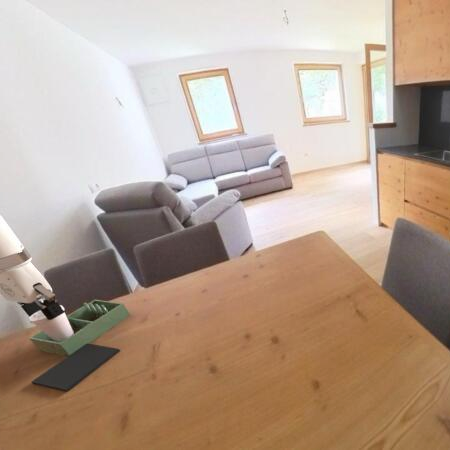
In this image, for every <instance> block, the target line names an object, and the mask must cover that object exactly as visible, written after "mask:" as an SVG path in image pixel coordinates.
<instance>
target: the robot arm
mask: <svg viewBox="0 0 450 450" xmlns="http://www.w3.org/2000/svg"><path fill="white" fill-rule="evenodd" d="M32 260H33V257H32V256H31V255H30V253H29V252H28V251H27V249H26V248H25V246H24V245H23V243H22V242H21V241H20V239H19V238H18V236H17V235H16V234H15V233H14V231H13V230H12V228H11V227H10V225H9V224H8V222H6V220H5V218H4V217H3V216H2V215H1V214H0V294H1V296H2V297H3V298H4V299H5V300H7V301H10V302H16V303H17V304H18V305H19V306H20V307H21V308H22V310H23V311H24V312H25V314H26V315H27V316H28V317H30V316H31V315H33V314H34V313H36V312H38V311H40V310H41V311H42V313H43V314H44V315H45V317H46V318H47V319H48V320H52V319H54V318H56V317H58V316H59V315H61V314H63V313H64V312H65V309H64V310H63V309H62V308H61V306H60V305H61V304H59V301H58V300H57V299H56V294H55V293H54V292H53V288H52V286H51V284H50V283H49V282H48V281H47V279H46V278H45V277H44V276H43V274H42V273H41V272H40V271H39V270H38V269H37V268H36V267H35V265H34V264H33V263H32V262H31V261H32ZM37 296H38V297H37ZM43 298H44V299H43ZM40 299H42V300H43V303H42V302H41V301H40Z"/></svg>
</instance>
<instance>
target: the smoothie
mask: <svg viewBox="0 0 450 450" xmlns="http://www.w3.org/2000/svg"><path fill="white" fill-rule="evenodd" d="M40 301H41V302H42V303H43V301H44V299H43V298H42V299H40ZM59 305H60V306H61V308H62V309H63V310H64V313H63V314H61V315H59V316H58V317H56V318H54V319H52V320H48V319H47V318H46V317H45V315H44V314H43V313H42V311H41V310H40V311H38V312H36V313H34V314H33V315H31V316H28V321H29V323H30V324H31V325H35V326H36V327H37V328H38V329H39V330H41V331H43V332H44V333H46V334H47V335H48V336H49V337H50V338H51V339H53V340H54V341H55V342H59V343H61V342H63V341H64V340H66V339H67V338H69V337H70V336H72V335H73V334H75V333H74V332H75V331H74V330H72V328H71V326H70V323H69V321H68V319H67V317H66V316H67V315H66V312H65V307H64V306H63V305H61V304H59Z"/></svg>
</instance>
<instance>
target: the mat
mask: <svg viewBox="0 0 450 450" xmlns="http://www.w3.org/2000/svg"><path fill="white" fill-rule="evenodd" d="M120 352H121V349H119V348H117V347H111V346H110V347H109V346H104V345H99V344H93V343H87V344H85V345H84V346H82V347H81V348H80V349H78V350H77V351H75V352H74V353H72V354H71V355H69V356H66V357H64V358H63V359H62V360H60V361H59V362H57V363H56V364H55V365H53V366H51V367H50V368H49V369H47V370H46V371H45V372H43V373H41V374H40V375H39V376H37V377H36V378H34V379H33V380H32V381H31V383H32V384H33V385H36V386H41V387H45V388H49V389H54V390H59V391H62V392H67V393H68V392H69V391H71V390H72V389H73V388H75V386H77V385H79V384H80V383H81V382H82V381H84V380H85V379H86V378H87V377H89V376H90V375H91V374H92V373H94V372H95V371H96V370H97V369H99V368H100V367H101V366H103V365H104V364H106V362H108V361H109V360H110V359H112V358H113V357H114V356H115V355H117V354H118V353H120Z"/></svg>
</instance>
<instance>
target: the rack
mask: <svg viewBox="0 0 450 450" xmlns="http://www.w3.org/2000/svg"><path fill="white" fill-rule="evenodd" d="M82 305H83V306H81V307H80V308H77V309H76V310H75V311H73V312H71V313H69V314H68V315H66V317H67V319H68V321H69V323H70V326H71V328H72V330H73V331H74V330H76V329H79V330H78V331H76V332H75V333H74V334H73V335H72V336H70V337H69V338H67V339H66V340H64V341H63V342H61V343H59V342H55V341H54V340H53V339H51V338H50V337H49V336H48V335H47V334H46V333H44V332H43V331H42V330H41V331H39V332H37V333H35V334H33V335H32V336H30V337H28V339H29V341H31V342H32V344H33V345H34V346H35V347H36V348H37V349H38V350H39V351H41V352H45V353H49V354H50V353H51V354H55V355H61V356H66V357H68V356H69V355H71V354H72V353H74V352H75V351H77V350H78V349H80V348H81V347H82V346H84V345H85V344H87V343H89V344H92V342H94V341H95V340H96V339H98V338H99V337H101V336H102V335H103V334H105V333H107V332H108V331H110V330H111V329H113V328H114V327H115V326H117V325H118V324H120V323H121V322H123V321H124V320H125V319H127V318H128V317H130V316H131V313H130V312H129V311H128V309H127V307H126V306H125V304H124V303H123V302H116V301H109V300H100V299H94V300H91V301H90V302H83V304H82ZM92 319H94V320H93V321H92Z"/></svg>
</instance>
